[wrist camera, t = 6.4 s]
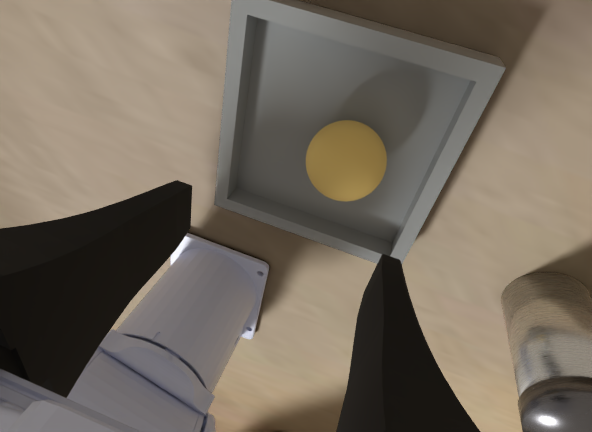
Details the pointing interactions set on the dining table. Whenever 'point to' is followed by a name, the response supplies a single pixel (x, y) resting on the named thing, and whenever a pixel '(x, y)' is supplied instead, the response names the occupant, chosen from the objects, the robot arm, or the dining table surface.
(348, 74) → the dish
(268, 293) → the dining table surface
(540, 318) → the shaker cup
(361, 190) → the ball
